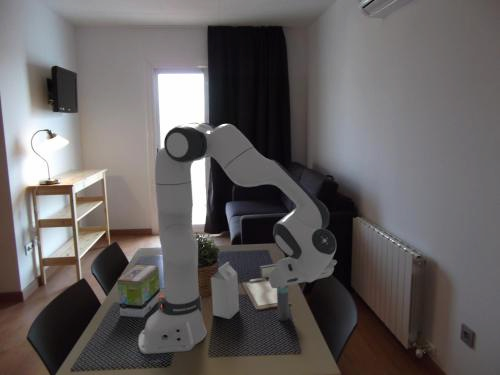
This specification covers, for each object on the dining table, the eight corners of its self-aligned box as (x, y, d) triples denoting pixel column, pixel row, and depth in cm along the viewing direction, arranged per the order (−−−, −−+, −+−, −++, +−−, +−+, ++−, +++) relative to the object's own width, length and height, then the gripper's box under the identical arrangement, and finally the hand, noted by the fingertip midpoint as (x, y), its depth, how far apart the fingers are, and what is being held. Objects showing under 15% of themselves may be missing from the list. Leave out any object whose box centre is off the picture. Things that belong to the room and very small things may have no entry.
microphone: (279, 321, 135) (278, 287, 132) (276, 316, 139) (275, 282, 136) (290, 319, 136) (289, 285, 133) (286, 314, 140) (286, 281, 137)
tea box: (144, 318, 141) (140, 281, 138) (119, 316, 143) (115, 279, 140) (161, 299, 156) (158, 264, 153) (139, 297, 158) (135, 263, 155)
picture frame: (260, 280, 169) (260, 267, 168) (260, 278, 170) (259, 266, 169) (277, 277, 171) (277, 264, 170) (277, 276, 172) (276, 263, 171)
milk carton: (213, 315, 141) (210, 267, 137) (223, 306, 147) (220, 260, 143) (229, 319, 138) (226, 270, 134) (239, 310, 144) (236, 263, 140)
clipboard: (256, 310, 143) (256, 306, 143) (241, 284, 166) (241, 280, 166) (291, 304, 146) (291, 301, 146) (272, 279, 169) (272, 276, 169)
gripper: (334, 249, 117) (320, 268, 128) (272, 261, 111) (263, 280, 122) (342, 268, 113) (327, 286, 124) (279, 282, 108) (269, 299, 119)
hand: (295, 283), depth 123 cm, fingers open, 8 cm apart
